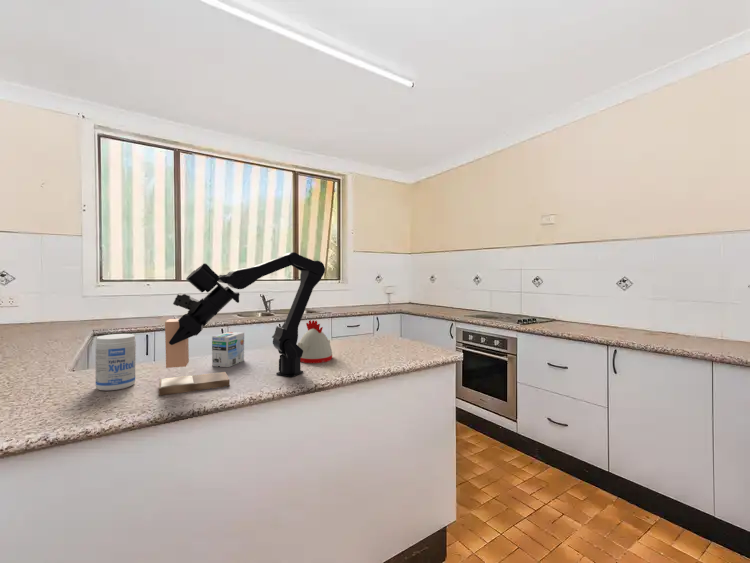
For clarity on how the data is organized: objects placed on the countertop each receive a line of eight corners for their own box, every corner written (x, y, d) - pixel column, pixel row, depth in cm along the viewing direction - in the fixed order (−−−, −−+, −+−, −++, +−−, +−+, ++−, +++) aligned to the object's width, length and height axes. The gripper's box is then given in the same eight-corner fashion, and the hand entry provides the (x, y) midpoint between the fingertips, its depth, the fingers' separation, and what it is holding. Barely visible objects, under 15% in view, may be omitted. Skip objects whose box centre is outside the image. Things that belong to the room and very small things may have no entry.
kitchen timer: (314, 352, 153) (314, 317, 152) (339, 358, 145) (339, 320, 144) (288, 359, 142) (288, 320, 141) (314, 365, 134) (314, 324, 133)
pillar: (188, 361, 109) (188, 318, 109) (185, 366, 105) (184, 321, 104) (169, 363, 108) (169, 319, 107) (166, 367, 103) (165, 322, 102)
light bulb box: (228, 367, 128) (228, 337, 128) (211, 366, 130) (211, 336, 129) (245, 360, 139) (245, 332, 138) (228, 359, 140) (228, 331, 140)
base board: (225, 378, 117) (225, 371, 116) (229, 386, 109) (229, 378, 109) (159, 386, 108) (159, 378, 108) (158, 395, 100) (158, 387, 100)
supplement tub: (111, 393, 101) (111, 340, 101) (87, 389, 104) (86, 337, 103) (143, 383, 110) (143, 334, 110) (120, 379, 113) (119, 332, 113)
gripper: (196, 282, 115) (156, 318, 112) (187, 285, 98) (139, 328, 94) (223, 306, 118) (185, 342, 115) (219, 313, 101) (174, 356, 97)
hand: (171, 342), depth 105 cm, fingers closed on pillar, 5 cm apart
